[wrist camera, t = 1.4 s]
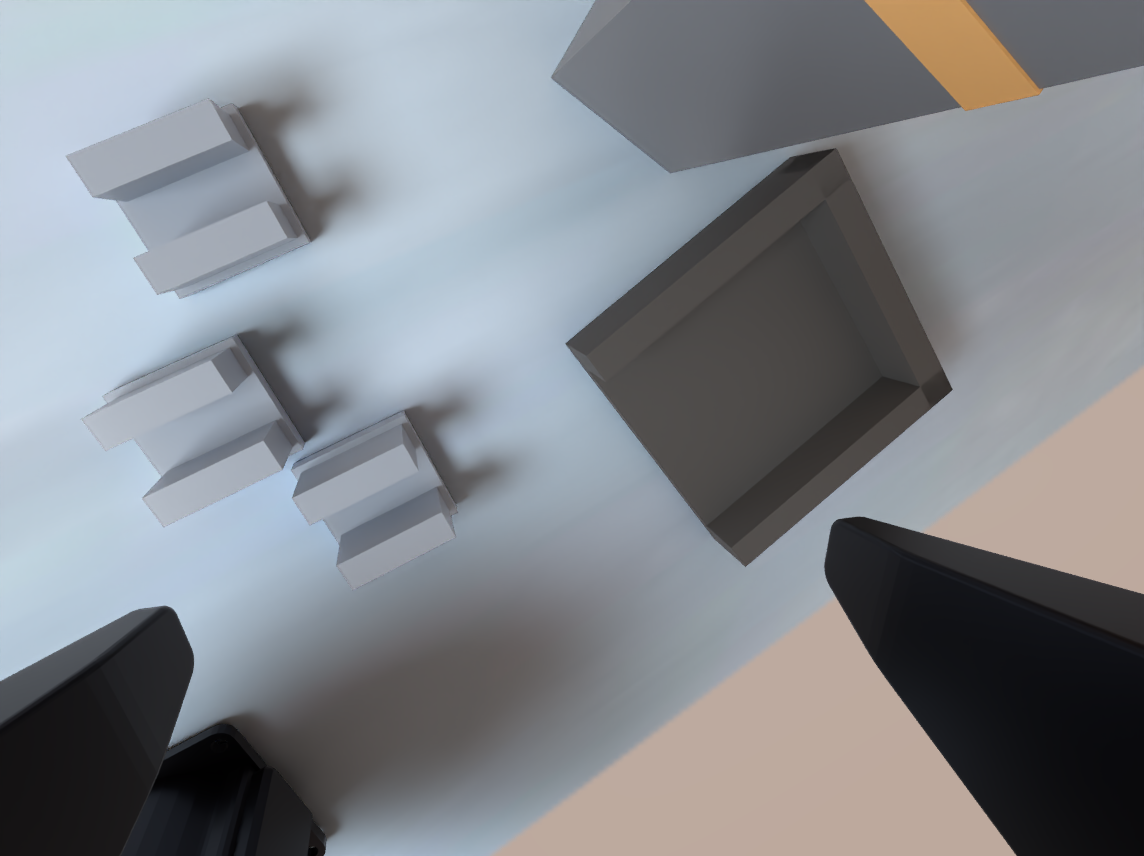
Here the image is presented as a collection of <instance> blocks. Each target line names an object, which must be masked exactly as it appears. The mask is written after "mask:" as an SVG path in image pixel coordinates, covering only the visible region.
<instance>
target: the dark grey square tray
mask: <svg viewBox="0 0 1144 856" xmlns="http://www.w3.org/2000/svg"><path fill="white" fill-rule="evenodd" d="M566 345H567V346H568V348H569V349H570V350H571V352H572V353H573V354H574V356H575V357H576V358H577V360H578V361H579V362H580V363H581V365H582V366H583V367H584V369H585V370H586V371H587V373H588V374H589V375H590V377H591V378H592V379H593V381H594V382H595V383H596V384H597V386H598V387H599V388H600V390H601V391H602V392H603V394H604V395H605V396H606V398H607V399H608V400H609V401H610V403H611V404H612V405H613V407H614V408H615V409H616V411H617V412H618V413H619V415H620V416H621V417H622V418H623V420H624V421H625V422H626V424H627V425H628V426H629V428H630V429H631V430H632V432H633V433H634V434H635V436H636V437H637V438H638V439H639V441H640V442H641V443H642V445H643V446H644V447H645V449H646V450H647V451H648V453H649V454H650V455H651V456H652V458H653V459H654V460H655V462H656V463H657V464H658V466H659V467H660V468H661V470H662V471H663V472H664V474H665V475H666V476H667V477H668V479H669V480H670V481H671V483H672V484H673V485H674V487H675V488H676V489H677V491H678V492H679V493H680V494H681V496H682V497H683V498H684V500H685V501H686V502H687V504H688V505H689V506H690V508H691V509H692V510H693V511H694V513H695V514H696V515H697V517H698V518H699V519H700V521H701V522H702V523H703V525H704V526H705V527H706V529H707V530H708V531H709V532H710V534H711V535H712V536H713V538H714V539H715V540H716V541H718V542H719V543H720V544H721V545H722V546H723V547H724V548H725V549H726V550H727V551H729V552H730V553H731V554H732V555H733V556H734V557H735V558H736V559H737V560H738V561H740V562H741V563H742V564H743V565H744V566H745V567H746V566H747V565H748V564H749V563H751V562H752V561H753V560H754V559H755V558H756V557H758V556H759V555H760V554H761V553H762V552H763V551H765V550H766V549H767V548H768V547H769V546H771V545H772V544H773V543H774V542H775V541H776V540H778V539H779V538H780V537H781V536H782V535H783V534H785V533H786V532H787V531H788V530H789V529H790V528H792V527H793V526H794V525H795V524H796V523H797V522H799V521H800V520H801V519H802V518H803V517H804V516H806V515H807V514H808V513H809V512H810V511H811V510H813V509H814V508H815V507H816V506H817V505H818V504H820V503H821V502H822V501H823V500H824V499H826V498H827V497H828V496H829V495H830V494H831V493H833V492H834V491H835V490H836V489H837V488H838V487H840V486H841V485H842V484H843V483H844V482H845V481H847V480H848V479H849V478H850V477H851V476H852V475H854V474H855V473H856V472H857V471H858V470H859V469H861V468H862V467H863V466H864V465H865V464H866V463H868V462H869V461H870V460H871V459H872V458H874V457H875V456H876V455H877V454H878V453H879V452H881V451H882V450H883V449H884V448H885V447H886V446H888V445H889V444H890V443H891V442H892V441H893V440H895V439H896V438H897V437H898V436H899V435H900V434H902V433H903V432H904V431H905V430H906V429H907V428H909V427H910V426H911V425H912V424H913V423H914V422H916V421H917V420H918V419H919V418H920V417H921V416H923V415H924V414H925V413H926V412H927V411H929V410H930V409H931V408H932V407H933V406H934V405H936V404H937V403H938V402H939V401H940V400H941V399H943V398H944V397H945V396H946V395H947V394H948V393H950V392H951V391H952V390H953V389H952V387H951V385H950V383H949V381H948V379H947V377H946V375H945V373H944V371H943V369H942V367H941V365H940V362H939V360H938V358H937V356H936V354H935V352H934V350H933V348H932V346H931V344H930V342H929V340H928V338H927V335H926V333H925V331H924V329H923V327H922V325H921V323H920V321H919V319H918V317H917V315H916V313H915V311H914V309H913V306H912V304H911V302H910V300H909V298H908V296H907V294H906V292H905V290H904V288H903V286H902V284H901V282H900V279H899V277H898V275H897V273H896V271H895V269H894V267H893V265H892V263H891V261H890V259H889V257H888V255H887V253H886V250H885V248H884V246H883V244H882V242H881V240H880V238H879V236H878V234H877V232H876V230H875V228H874V226H873V223H872V221H871V219H870V217H869V215H868V213H867V211H866V209H865V207H864V205H863V203H862V201H861V199H860V196H859V194H858V192H857V190H856V188H855V186H854V184H853V182H852V180H851V178H850V176H849V174H848V172H847V170H846V167H845V165H844V163H843V161H842V159H841V157H840V155H839V153H838V151H837V149H836V148H835V149H830V150H825V151H820V152H815V153H810V154H805V155H800V156H795V157H790V158H789V159H788V160H787V161H785V162H784V163H783V164H782V165H781V166H779V167H778V168H777V169H776V170H775V171H773V172H772V173H771V174H770V175H768V176H767V177H766V178H765V179H764V180H762V181H761V182H760V183H759V184H758V185H756V186H755V187H754V188H753V189H752V190H750V191H749V192H748V193H747V194H746V195H744V196H743V197H742V198H741V199H740V200H738V201H737V202H736V203H735V204H733V205H732V206H731V207H730V208H729V209H727V210H726V211H725V212H724V213H723V214H721V215H720V216H719V217H718V218H717V219H715V220H714V221H713V222H712V223H711V224H709V225H708V226H707V227H706V228H705V229H703V230H702V231H701V232H700V233H698V234H697V235H696V236H695V237H694V238H692V239H691V240H690V241H689V242H688V243H686V244H685V245H684V246H683V247H682V248H680V249H679V250H678V251H677V252H676V253H674V254H673V255H672V256H671V257H669V258H668V259H667V260H666V261H665V262H663V263H662V264H661V265H660V266H659V267H657V268H656V269H655V270H654V271H653V272H651V273H650V274H649V275H648V276H647V277H645V278H644V279H643V280H642V281H641V282H639V283H638V284H637V285H636V286H634V287H633V288H632V289H631V290H630V291H628V292H627V293H626V294H625V295H624V296H622V297H621V298H620V299H619V300H618V301H616V302H615V303H614V304H613V305H612V306H610V307H609V308H608V309H607V310H606V311H604V312H603V313H602V314H601V315H599V316H598V317H597V318H596V319H595V320H593V321H592V322H591V323H590V324H589V325H587V326H586V327H585V328H584V329H583V330H581V331H580V332H579V333H578V334H577V335H575V336H574V337H573V338H572V339H571V340H569V341H568V342H567V343H566Z"/></svg>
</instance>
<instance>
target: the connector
mask: <svg viewBox="0 0 1144 856" xmlns="http://www.w3.org/2000/svg"><path fill="white" fill-rule="evenodd" d="M1143 65H1144V0H596V1H595V2H594V4H593V6H592V8H591V9H590V11H589V13H588V15H587V16H586V18H585V20H584V21H583V23H582V25H581V27H580V28H579V30H578V32H577V34H576V35H575V37H574V39H573V41H572V42H571V44H570V46H569V48H568V49H567V51H566V53H565V54H564V56H563V58H562V60H561V61H560V63H559V65H558V67H557V68H556V70H555V72H554V74H553V75H552V77H551V78H552V79H553V80H554V81H556V82H557V83H558V84H559V85H561V86H562V87H563V88H564V89H566V90H567V91H568V92H569V93H571V94H572V95H573V96H574V97H576V98H577V99H578V100H579V101H581V102H582V103H583V104H584V105H586V106H587V107H588V108H589V109H591V110H592V111H593V112H594V113H596V114H597V115H598V116H599V117H601V118H602V119H603V120H604V121H606V122H607V123H608V124H609V125H611V126H612V127H613V128H614V129H616V130H617V131H618V132H619V133H621V134H622V135H623V136H624V137H626V138H627V139H628V140H629V141H631V142H632V143H633V144H634V145H636V146H637V147H638V148H639V149H641V150H642V151H643V152H644V153H646V154H647V155H648V156H649V157H651V158H652V159H653V160H654V161H656V162H657V163H658V164H659V165H661V166H662V167H663V168H664V169H666V170H667V171H668V172H669V173H673V172H677V171H682V170H686V169H690V168H695V167H699V166H704V165H708V164H712V163H717V162H721V161H726V160H730V159H734V158H739V157H743V156H748V155H752V154H756V153H761V152H765V151H770V150H774V149H778V148H783V147H787V146H792V145H796V144H800V143H805V142H809V141H814V140H818V139H822V138H827V137H831V136H835V135H840V134H844V133H849V132H853V131H857V130H862V129H866V128H871V127H875V126H879V125H884V124H888V123H893V122H897V121H901V120H906V119H910V118H915V117H919V116H923V115H928V114H932V113H937V112H941V111H945V110H950V109H954V108H959V107H962V108H963V109H964V110H965V111H968V110H972V109H977V108H981V107H986V106H990V105H995V104H1000V103H1004V102H1009V101H1013V100H1018V99H1022V98H1027V97H1032V96H1036V95H1039V94H1040V93H1041V91H1042V90H1043V88H1047V87H1051V86H1055V85H1060V84H1064V83H1069V82H1073V81H1077V80H1082V79H1086V78H1091V77H1095V76H1099V75H1104V74H1108V73H1112V72H1117V71H1121V70H1126V69H1130V68H1134V67H1139V66H1143Z"/></svg>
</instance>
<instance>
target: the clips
mask: <svg viewBox="0 0 1144 856" xmlns="http://www.w3.org/2000/svg"><path fill="white" fill-rule="evenodd" d="M66 158H67V159H68V161H69V162H70V164H71V165H72V167H73V168H74V170H75V171H76V173H77V174H78V176H79V177H80V179H81V180H82V182H83V183H84V185H85V186H86V188H87V189H88V191H89V192H90V194H91V195H92V197H95V198H102V199H109V200H116V202H117V203H118V205H119V206H120V208H121V209H122V211H123V212H124V214H125V216H126V217H127V219H128V220H129V222H130V223H131V225H132V226H133V228H134V229H135V231H136V233H137V234H138V236H139V237H140V239H141V240H142V242H143V243H144V245H145V246H146V248H147V249H148V252H146V253H143V254H141V255H139V256H136V257H134V258H133V259H134V260H135V262H136V263H137V265H138V266H139V268H140V270H141V271H142V273H143V274H144V276H145V277H146V279H147V280H148V282H149V283H150V285H151V286H152V288H153V289H154V291H155V292H156V294H157V295H158V294H162V293H166V292H170V291H175V293H176V294H177V296H178V297H179V299H181V298H184V297H187V296H189V295H192V294H194V293H196V292H199V291H201V290H203V289H205V288H208V287H210V286H212V285H215V284H217V283H219V282H221V281H224V280H226V279H228V278H230V277H233V276H235V275H237V274H240V273H242V272H244V271H246V270H249V269H251V268H253V267H255V266H258V265H260V264H262V263H265V262H267V261H269V260H271V259H274V258H276V257H278V256H280V255H283V254H285V253H287V252H290V251H292V250H294V249H296V248H299V247H301V246H303V245H305V244H308V243H310V242H311V241H310V239H309V237H308V235H307V233H306V231H305V230H304V228H303V226H302V224H301V222H300V221H299V219H298V217H297V215H296V213H295V211H294V210H293V208H292V206H291V204H290V202H289V201H288V199H287V197H286V195H285V193H284V191H283V190H282V188H281V186H280V184H279V182H278V181H277V179H276V177H275V175H274V173H273V172H272V170H271V168H270V166H269V164H268V162H267V161H266V159H265V157H264V155H263V153H262V152H261V150H260V148H259V146H258V144H257V142H256V141H255V139H254V137H253V135H252V133H251V132H250V130H249V128H248V126H247V124H246V122H245V121H244V119H243V117H242V115H241V113H240V112H239V110H238V108H237V107H236V106H235V105H234V104H233V103H231V104H229V105H226V106H224V107H221V108H220V107H219V106H218V105H217V104H215V103H214V102H213V101H212V100H210V99H209V98H208V99H206V100H203V101H201V102H198V103H196V104H193V105H191V106H188V107H186V108H183V109H181V110H178V111H176V112H173V113H171V114H168V115H166V116H163V117H161V118H158V119H156V120H153V121H151V122H148V123H146V124H143V125H141V126H138V127H136V128H133V129H131V130H128V131H126V132H123V133H121V134H118V135H116V136H114V137H111V138H109V139H106V140H104V141H101V142H99V143H96V144H94V145H91V146H89V147H86V148H84V149H81V150H79V151H76V152H74V153H71V154H69V155H66ZM102 397H103V399H104V400H105V401H106V403H107V404H106V405H104V406H102V407H101V408H99V409H97V410H96V411H94V412H92V413H91V414H89V415H87V416H86V417H84V418H82V419H81V420H82V421H83V423H84V424H85V425H86V426H87V428H88V429H89V430H90V432H91V433H92V434H93V436H94V437H95V438H96V440H97V441H98V442H99V443H100V445H101V446H102V447H103V449H104V450H105V451H107V450H109V449H112V448H114V447H116V446H118V445H120V444H122V443H125V442H127V441H129V440H131V439H134V441H135V442H136V443H137V445H138V446H139V447H140V449H141V450H142V451H143V453H144V454H145V455H146V457H147V458H148V459H149V461H150V462H151V463H152V465H153V466H154V468H155V469H156V470H157V472H158V473H159V474H160V476H161V478H160V479H159V481H158V482H157V483H156V484H155V485H154V486H153V487H152V488H151V489H150V490H149V491H148V492H147V493H146V494H145V496H144V497H143V498H142V500H143V501H144V502H145V504H146V505H147V506H148V507H149V509H150V510H151V511H152V513H153V514H154V515H155V517H156V518H157V519H158V521H159V522H160V523H161V524H162V526H163V527H165V526H168V525H170V524H172V523H174V522H176V521H178V520H180V519H182V518H184V517H186V516H188V515H190V514H192V513H194V512H196V511H199V510H201V509H203V508H205V507H207V506H209V505H211V504H213V503H215V502H217V501H219V500H221V499H223V498H225V497H227V496H230V495H232V494H234V493H236V492H238V491H240V490H242V489H244V488H246V487H248V486H250V485H252V484H254V483H256V482H258V481H261V480H263V479H265V478H267V477H269V476H271V475H273V474H275V473H277V472H279V471H281V470H283V468H284V465H285V463H286V461H287V459H288V456H290V455H292V454H295V453H297V452H299V451H301V450H303V448H304V445H305V442H304V440H303V439H302V437H301V436H300V434H299V433H298V431H297V429H296V428H295V426H294V425H293V423H292V421H291V420H290V418H289V417H288V415H287V413H286V412H285V410H284V409H283V407H282V405H281V404H280V402H279V401H278V399H277V398H276V396H275V394H274V393H273V391H272V390H271V388H270V386H269V385H268V383H267V382H266V380H265V378H264V377H263V375H262V374H261V372H260V370H259V369H258V367H257V366H256V364H255V362H254V361H253V359H252V358H251V356H250V355H249V353H248V351H247V350H246V348H245V347H244V345H243V343H242V342H241V340H240V339H239V337H238V335H234V336H232V337H230V338H228V339H226V340H223V341H221V342H219V343H217V344H214V345H212V346H210V347H208V348H206V349H203V350H201V351H199V352H197V353H195V354H192V355H190V356H188V357H186V358H183V359H181V360H179V361H177V362H175V363H172V364H170V365H168V366H166V367H164V368H161V369H159V370H157V371H155V372H152V373H150V374H148V375H146V376H144V377H141V378H139V379H137V380H135V381H133V382H130V383H128V384H126V385H124V386H121V387H119V388H117V389H115V390H113V391H110V392H109V393H107V394H105V395H103V396H102ZM291 471H292V473H293V474H294V476H295V477H296V479H297V480H298V483H297V485H296V488H295V491H294V494H293V497H292V499H293V501H294V502H295V504H296V505H297V507H298V508H299V510H300V511H301V513H302V515H303V516H304V518H305V519H306V521H307V522H308V524H309V525H312V524H314V523H316V522H318V521H320V520H322V519H323V521H324V522H325V524H326V525H327V527H328V528H329V530H330V531H331V533H332V534H333V536H334V537H335V539H336V541H337V542H338V544H339V552H338V559H337V567H338V569H339V570H340V572H341V573H342V575H343V577H344V578H345V580H346V581H347V583H348V584H349V586H350V587H351V589H352V590H355V589H357V588H359V587H361V586H363V585H365V584H366V583H368V582H370V581H372V580H374V579H376V578H378V577H380V576H382V575H384V574H386V573H388V572H390V571H392V570H394V569H396V568H397V567H399V566H401V565H403V564H405V563H407V562H409V561H411V560H413V559H415V558H417V557H419V556H421V555H423V554H425V553H427V552H428V551H430V550H432V549H434V548H436V547H438V546H440V545H442V544H444V543H446V542H448V541H450V540H452V539H454V538H456V536H455V532H454V527H453V523H452V519H451V516H452V515H454V514H456V513H458V511H457V507H456V504H455V502H454V500H453V499H452V497H451V495H450V493H449V491H448V490H447V488H446V486H445V484H444V482H443V481H442V479H441V477H440V475H439V473H438V471H437V470H436V468H435V466H434V464H433V462H432V461H431V459H430V457H429V455H428V453H427V451H426V450H425V448H424V446H423V444H422V442H421V441H420V439H419V437H418V435H417V433H416V431H415V430H414V428H413V426H412V424H411V422H410V421H409V419H408V417H407V415H406V413H405V411H404V410H403V411H401V412H399V413H397V414H395V415H393V416H391V417H389V418H387V419H385V420H383V421H381V422H379V423H377V424H374V425H372V426H370V427H368V428H366V429H364V430H362V431H360V432H358V433H356V434H354V435H352V436H350V437H348V438H346V439H343V440H341V441H339V442H337V443H335V444H333V445H331V446H329V447H327V448H325V449H323V450H321V451H319V452H317V453H315V454H312V455H310V456H308V457H306V458H304V459H302V460H300V461H298V462H296V463H294V464H293V466H292V469H291Z"/></svg>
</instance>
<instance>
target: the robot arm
mask: <svg viewBox="0 0 1144 856" xmlns="http://www.w3.org/2000/svg"><path fill="white" fill-rule="evenodd" d="M824 568H825V575H826V579H827V582H828V584H829V586H830V588H831V589H832V591H833V593H834V594H835V596H836V598H837V600H838V601H839V603H840V605H841V606H842V608H843V610H844V612H845V613H846V615H847V616H848V619H849V620H850V622H851V624H852V625H853V627H854V629H855V630H856V632H857V634H858V636H859V637H860V639H861V641H862V642H863V644H864V646H865V648H866V649H867V651H868V653H869V654H870V656H871V657H872V659H873V661H874V662H875V664H876V665H877V666H878V668H879V669H880V671H881V672H882V674H883V675H884V676H885V678H886V679H887V680H888V682H889V683H890V685H891V686H892V687H893V689H894V690H895V691H896V693H897V694H898V696H899V697H900V698H901V699H902V701H903V702H904V704H905V705H906V706H907V708H908V709H909V710H910V712H911V713H912V714H913V716H914V717H915V718H916V720H917V721H918V723H919V724H920V725H921V727H922V728H923V729H924V731H925V732H926V733H927V735H928V736H929V738H930V739H931V740H932V742H933V743H934V744H935V746H936V747H937V748H938V750H939V751H940V752H941V754H942V755H943V756H944V758H945V759H946V761H947V762H948V763H949V765H950V766H951V767H952V769H953V770H954V771H955V772H956V774H957V775H958V777H959V778H960V779H961V781H962V782H963V784H964V785H965V786H966V788H967V789H968V790H969V792H970V793H971V794H972V796H973V797H974V798H975V800H976V801H977V802H978V804H979V805H980V806H981V808H982V809H983V811H984V812H985V813H986V814H987V816H988V817H989V819H990V820H991V822H992V823H993V824H994V826H995V827H996V828H997V830H998V831H999V832H1000V834H1001V835H1002V836H1003V838H1004V839H1005V840H1006V842H1007V843H1008V845H1009V846H1010V847H1011V849H1012V850H1013V851H1014V853H1015V854H1016V855H1017V856H1144V594H1141V593H1137V592H1134V591H1130V590H1126V589H1123V588H1119V587H1116V586H1112V585H1108V584H1105V583H1101V582H1098V581H1094V580H1090V579H1087V578H1083V577H1079V576H1076V575H1072V574H1069V573H1065V572H1061V571H1058V570H1054V569H1050V568H1047V567H1043V566H1040V565H1036V564H1032V563H1029V562H1025V561H1021V560H1018V559H1014V558H1011V557H1007V556H1003V555H999V554H996V553H992V552H989V551H985V550H982V549H978V548H974V547H971V546H967V545H963V544H960V543H956V542H952V541H949V540H945V539H942V538H938V537H934V536H931V535H927V534H924V533H920V532H916V531H913V530H909V529H906V528H902V527H898V526H895V525H891V524H887V523H884V522H880V521H877V520H873V519H869V518H866V517H852V518H844V519H838V520H836V521H835V522H834V523H833V525H832V527H831V530H830V536H829V541H828V547H827V552H826V558H825V565H824ZM193 668H194V655H193V651H192V648H191V646H190V643H189V641H188V639H187V637H186V634H185V632H184V630H183V627H182V625H181V623H180V621H179V618H178V616H177V614H176V612H175V611H174V610H173V609H172V608H170V607H168V606H159V607H151V608H144V609H138V610H135V611H132V612H130V613H128V614H127V615H125V616H123V617H121V618H119V619H117V620H115V621H113V622H111V623H110V624H108V625H106V626H104V627H102V628H100V629H98V630H96V631H94V632H93V633H91V634H89V635H87V636H85V637H83V638H81V639H79V640H77V641H76V642H74V643H72V644H70V645H68V646H66V647H64V648H62V649H60V650H59V651H57V652H55V653H53V654H51V655H49V656H47V657H45V658H43V659H42V660H40V661H38V662H36V663H34V664H32V665H30V666H28V667H26V668H24V669H23V670H21V671H19V672H17V673H15V674H13V675H11V676H9V677H7V678H6V679H4V680H2V681H0V856H324V854H325V850H326V840H327V839H326V836H325V834H324V833H323V832H322V831H321V830H320V828H319V827H318V826H317V825H316V824H315V822H314V821H313V820H312V813H311V812H310V810H309V809H308V808H307V807H306V806H305V804H304V803H303V802H302V801H301V800H300V798H299V797H298V796H297V795H296V794H295V792H294V791H293V790H292V789H291V787H290V786H289V785H288V784H287V783H286V781H285V780H284V779H283V778H282V777H281V775H280V774H279V773H278V772H277V771H276V769H274V768H272V767H270V766H267V765H266V764H265V762H264V761H263V760H262V759H261V758H260V756H259V755H258V754H257V753H256V752H255V750H254V749H253V748H252V747H251V745H250V744H249V743H248V742H247V741H246V739H245V738H244V737H243V736H242V735H241V733H240V732H239V731H238V730H237V729H236V728H235V727H233V726H231V725H228V724H219V725H217V726H214V727H212V728H210V729H208V730H206V731H204V732H202V733H200V734H198V735H197V736H195V737H193V738H191V739H189V740H187V741H185V742H183V743H181V744H180V745H178V746H176V747H174V748H172V749H170V750H168V751H167V748H168V745H169V742H170V739H171V736H172V733H173V730H174V727H175V724H176V721H177V718H178V715H179V712H180V709H181V706H182V703H183V700H184V697H185V694H186V691H187V689H188V686H189V683H190V680H191V677H192V673H193ZM218 739H221V740H225V741H226V742H227V743H224V744H219V743H217V742H215V740H218ZM310 846H315V847H313V848H308V847H310Z"/></svg>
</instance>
